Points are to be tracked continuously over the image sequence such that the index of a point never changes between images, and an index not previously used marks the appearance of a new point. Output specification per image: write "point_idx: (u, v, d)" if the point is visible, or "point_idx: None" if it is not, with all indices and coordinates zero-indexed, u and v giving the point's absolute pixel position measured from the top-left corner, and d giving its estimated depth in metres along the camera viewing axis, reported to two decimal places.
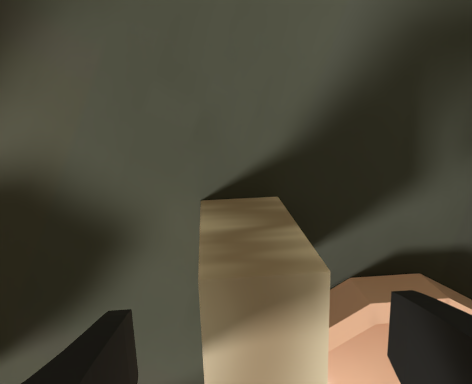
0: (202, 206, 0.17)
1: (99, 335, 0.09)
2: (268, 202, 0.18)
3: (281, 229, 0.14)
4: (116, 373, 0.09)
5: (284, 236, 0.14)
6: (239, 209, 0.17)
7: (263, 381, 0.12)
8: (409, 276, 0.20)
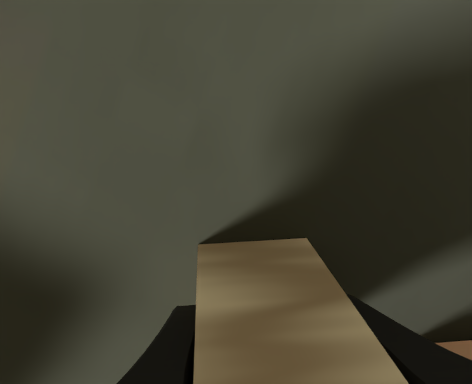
0: (200, 256, 0.12)
1: (181, 329, 0.09)
2: (295, 249, 0.12)
3: (326, 310, 0.09)
4: None
5: (336, 331, 0.08)
6: (254, 263, 0.11)
7: None
8: None
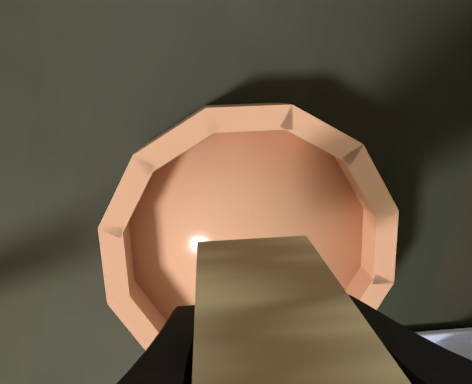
0: (199, 253, 0.12)
1: (181, 329, 0.09)
2: (294, 246, 0.12)
3: (326, 306, 0.09)
4: None
5: (336, 326, 0.08)
6: (254, 260, 0.11)
7: None
8: None
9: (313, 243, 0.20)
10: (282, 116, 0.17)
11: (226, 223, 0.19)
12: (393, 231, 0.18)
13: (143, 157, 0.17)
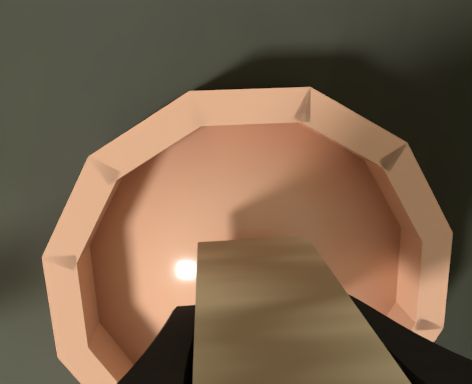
0: (199, 254, 0.12)
1: (181, 329, 0.09)
2: (294, 247, 0.12)
3: (326, 307, 0.09)
4: None
5: (336, 327, 0.08)
6: (254, 261, 0.11)
7: None
8: None
9: (334, 273, 0.15)
10: (296, 103, 0.12)
11: None
12: (444, 260, 0.13)
13: (102, 160, 0.12)
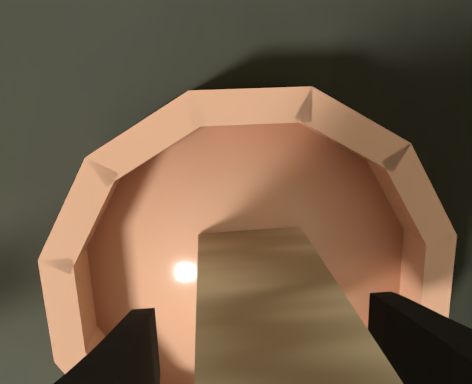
0: (200, 245, 0.13)
1: (127, 333, 0.09)
2: (289, 237, 0.13)
3: (315, 293, 0.10)
4: (144, 371, 0.09)
5: (323, 310, 0.09)
6: (251, 251, 0.12)
7: None
8: None
9: (336, 276, 0.15)
10: (298, 103, 0.12)
11: None
12: (448, 263, 0.13)
13: (100, 161, 0.12)
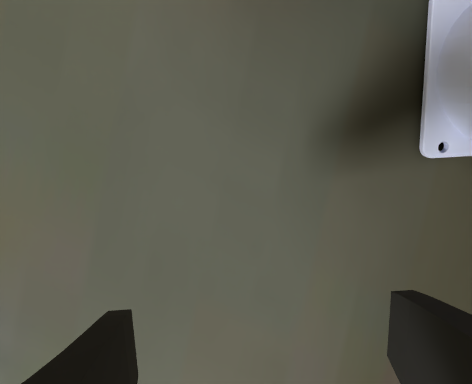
0: None
1: (99, 335, 0.09)
2: None
3: None
4: (116, 373, 0.09)
5: None
6: None
7: None
8: None
9: None
10: None
11: None
12: None
13: None
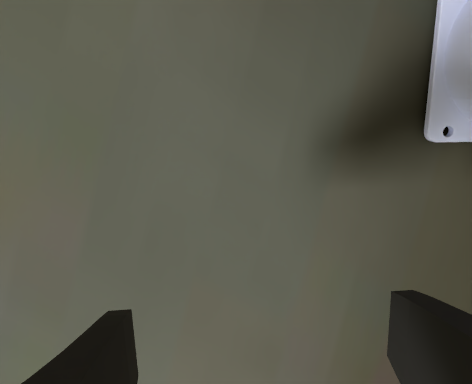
0: None
1: (99, 335, 0.09)
2: None
3: None
4: (116, 373, 0.09)
5: None
6: None
7: None
8: None
9: None
10: None
11: None
12: None
13: None
